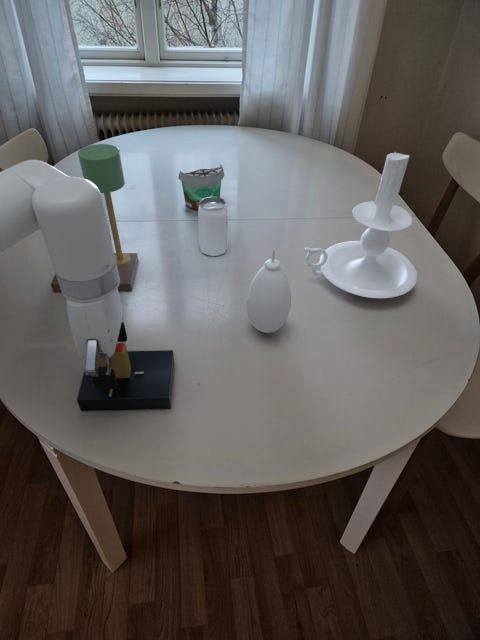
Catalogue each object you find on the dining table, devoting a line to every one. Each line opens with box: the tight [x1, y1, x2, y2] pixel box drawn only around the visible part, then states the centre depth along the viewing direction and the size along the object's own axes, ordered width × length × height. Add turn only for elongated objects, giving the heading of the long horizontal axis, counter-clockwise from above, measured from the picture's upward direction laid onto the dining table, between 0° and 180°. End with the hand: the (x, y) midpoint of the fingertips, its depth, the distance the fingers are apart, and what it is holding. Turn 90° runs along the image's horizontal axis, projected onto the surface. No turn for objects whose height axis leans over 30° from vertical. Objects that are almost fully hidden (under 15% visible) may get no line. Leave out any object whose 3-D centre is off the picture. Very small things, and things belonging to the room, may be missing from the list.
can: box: [197, 197, 228, 257], centre depth 97 cm, size 6×6×12 cm
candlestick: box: [304, 151, 418, 299], centre depth 85 cm, size 21×25×28 cm
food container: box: [178, 163, 225, 212], centre depth 112 cm, size 12×6×10 cm, turn 114°
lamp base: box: [50, 252, 139, 293], centre depth 91 cm, size 16×11×4 cm
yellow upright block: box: [98, 342, 131, 378], centre depth 67 cm, size 5×2×6 cm, turn 93°
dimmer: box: [76, 349, 175, 412], centre depth 70 cm, size 14×10×3 cm
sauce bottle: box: [246, 249, 292, 334], centre depth 76 cm, size 8×8×18 cm
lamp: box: [77, 143, 130, 266], centre depth 82 cm, size 7×7×23 cm
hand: (112, 362), depth 67 cm, fingers open, 9 cm apart
